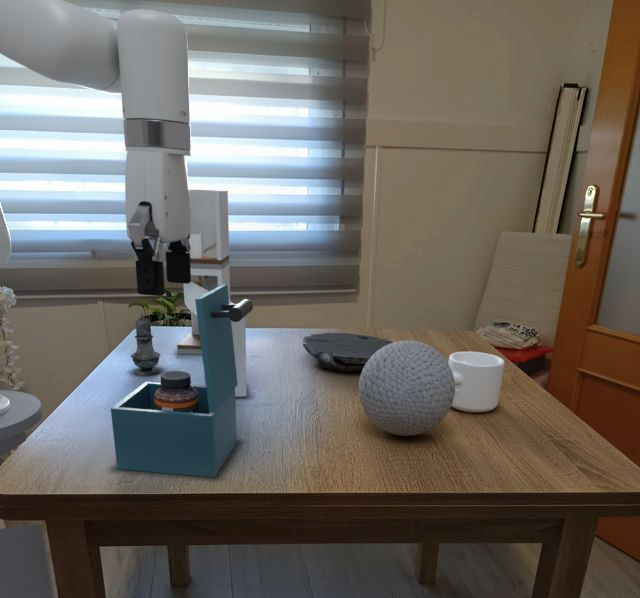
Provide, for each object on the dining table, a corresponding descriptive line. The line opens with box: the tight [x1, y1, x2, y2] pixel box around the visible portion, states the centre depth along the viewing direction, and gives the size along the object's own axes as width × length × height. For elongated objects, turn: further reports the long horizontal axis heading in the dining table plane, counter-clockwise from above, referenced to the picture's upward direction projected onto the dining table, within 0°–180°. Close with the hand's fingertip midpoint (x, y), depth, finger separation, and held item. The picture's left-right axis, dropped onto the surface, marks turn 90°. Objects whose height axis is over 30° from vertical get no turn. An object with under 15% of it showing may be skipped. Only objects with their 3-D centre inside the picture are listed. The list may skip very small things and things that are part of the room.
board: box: [302, 332, 395, 372], centre depth 127 cm, size 22×22×5 cm
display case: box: [176, 189, 231, 355], centre depth 130 cm, size 11×11×35 cm
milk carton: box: [203, 299, 247, 398], centre depth 105 cm, size 7×7×19 cm
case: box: [110, 381, 237, 478], centre depth 81 cm, size 14×12×9 cm
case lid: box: [195, 285, 254, 413], centre depth 75 cm, size 14×12×5 cm
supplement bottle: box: [154, 370, 199, 413], centre depth 80 cm, size 6×6×11 cm
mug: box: [447, 351, 506, 414], centre depth 105 cm, size 12×10×9 cm
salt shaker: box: [130, 313, 161, 377], centre depth 116 cm, size 6×6×12 cm
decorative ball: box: [358, 339, 455, 437], centre depth 90 cm, size 15×15×15 cm
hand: (166, 288), depth 74 cm, fingers open, 9 cm apart
